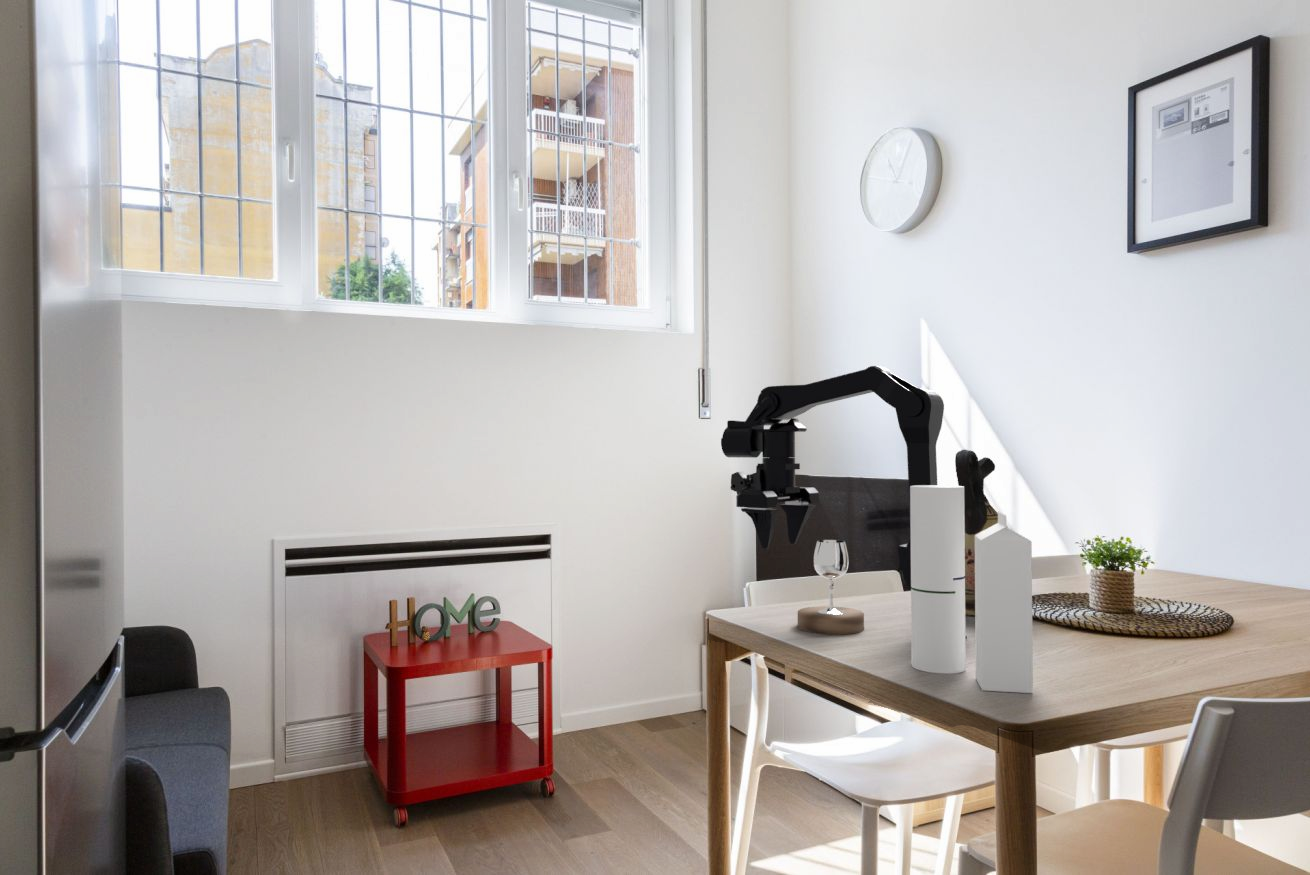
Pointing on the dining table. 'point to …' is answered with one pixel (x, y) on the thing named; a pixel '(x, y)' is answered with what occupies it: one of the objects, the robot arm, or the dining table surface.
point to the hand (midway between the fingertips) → (779, 546)
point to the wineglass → (831, 566)
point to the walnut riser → (830, 621)
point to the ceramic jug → (974, 512)
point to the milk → (1003, 609)
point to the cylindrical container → (937, 578)
